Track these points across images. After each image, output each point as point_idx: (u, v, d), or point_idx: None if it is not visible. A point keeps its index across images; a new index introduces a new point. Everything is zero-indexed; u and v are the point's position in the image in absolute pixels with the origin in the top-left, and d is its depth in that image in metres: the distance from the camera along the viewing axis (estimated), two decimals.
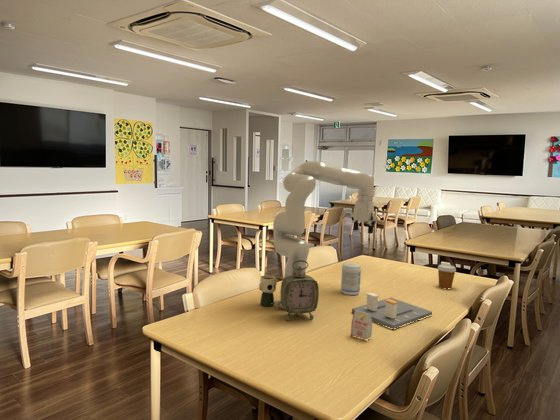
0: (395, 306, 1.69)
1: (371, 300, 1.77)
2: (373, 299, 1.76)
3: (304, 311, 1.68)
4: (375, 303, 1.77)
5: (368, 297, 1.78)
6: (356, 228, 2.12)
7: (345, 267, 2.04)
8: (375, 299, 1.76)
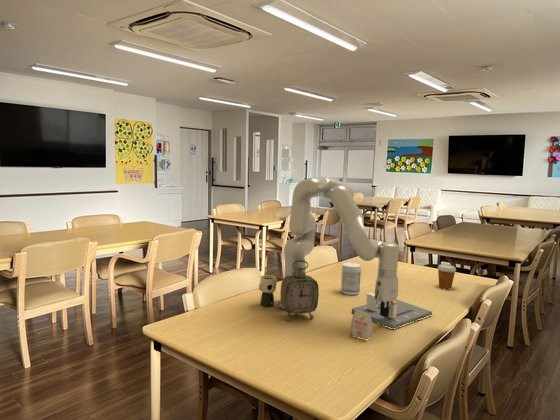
0: (395, 306, 1.69)
1: (371, 300, 1.77)
2: (373, 299, 1.76)
3: (304, 311, 1.68)
4: (375, 303, 1.77)
5: (368, 297, 1.78)
6: None
7: (345, 267, 2.04)
8: (375, 299, 1.76)
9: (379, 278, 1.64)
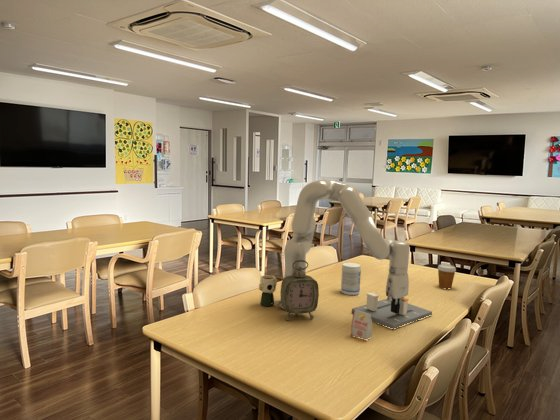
0: (406, 303, 1.73)
1: (371, 300, 1.77)
2: (373, 299, 1.76)
3: (304, 311, 1.68)
4: (375, 303, 1.77)
5: (368, 297, 1.78)
6: None
7: (345, 267, 2.04)
8: (375, 299, 1.76)
9: (390, 275, 1.68)
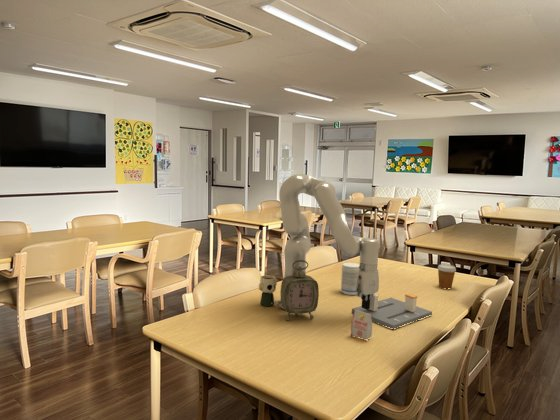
0: (415, 300, 1.78)
1: (372, 300, 1.77)
2: (373, 299, 1.76)
3: (304, 311, 1.68)
4: (375, 303, 1.77)
5: None
6: None
7: (345, 267, 2.04)
8: (375, 299, 1.76)
9: (360, 272, 1.71)
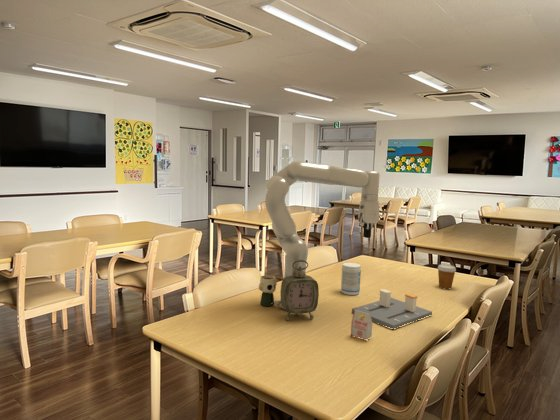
0: (415, 300, 1.78)
1: (384, 297, 1.82)
2: (386, 295, 1.82)
3: (304, 311, 1.68)
4: (388, 299, 1.82)
5: (381, 294, 1.84)
6: None
7: (345, 267, 2.04)
8: (388, 295, 1.82)
9: (362, 202, 1.84)
